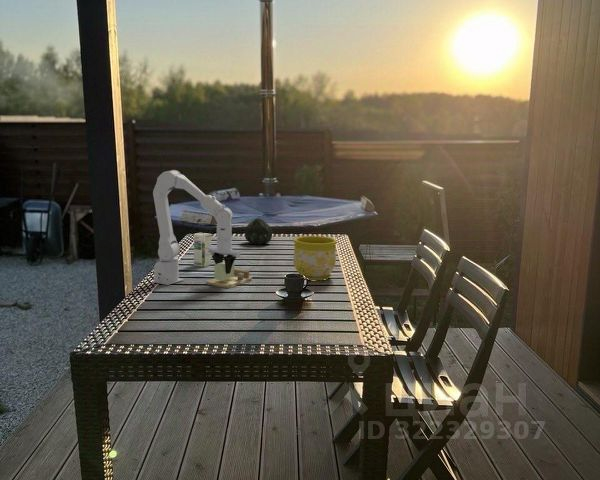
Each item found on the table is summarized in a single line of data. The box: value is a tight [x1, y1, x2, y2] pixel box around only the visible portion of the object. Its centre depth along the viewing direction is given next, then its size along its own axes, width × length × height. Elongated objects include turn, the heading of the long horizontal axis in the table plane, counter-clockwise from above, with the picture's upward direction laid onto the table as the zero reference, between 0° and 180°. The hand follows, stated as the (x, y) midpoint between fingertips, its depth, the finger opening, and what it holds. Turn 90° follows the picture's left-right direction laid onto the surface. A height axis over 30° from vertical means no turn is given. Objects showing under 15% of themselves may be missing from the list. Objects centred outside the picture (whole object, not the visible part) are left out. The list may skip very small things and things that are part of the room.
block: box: [214, 261, 235, 281], centre depth 233 cm, size 8×4×6 cm, turn 149°
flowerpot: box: [293, 235, 338, 280], centre depth 246 cm, size 18×18×16 cm
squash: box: [244, 218, 273, 246], centre depth 319 cm, size 14×15×15 cm
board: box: [205, 268, 253, 289], centre depth 236 cm, size 16×11×4 cm
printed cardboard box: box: [193, 232, 212, 268], centre depth 264 cm, size 6×6×14 cm
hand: (224, 272), depth 233 cm, fingers closed on block, 3 cm apart
